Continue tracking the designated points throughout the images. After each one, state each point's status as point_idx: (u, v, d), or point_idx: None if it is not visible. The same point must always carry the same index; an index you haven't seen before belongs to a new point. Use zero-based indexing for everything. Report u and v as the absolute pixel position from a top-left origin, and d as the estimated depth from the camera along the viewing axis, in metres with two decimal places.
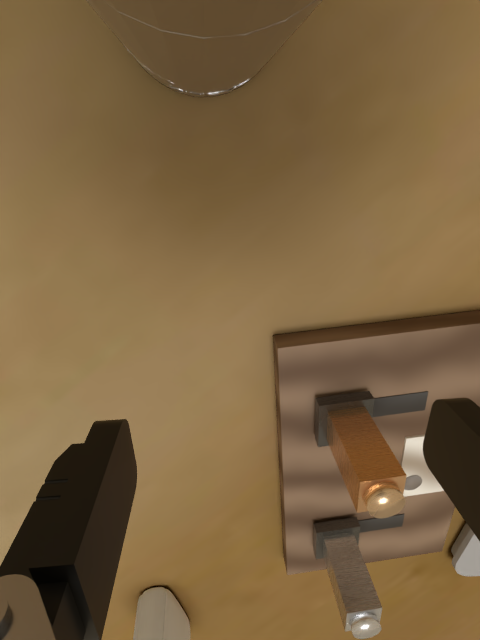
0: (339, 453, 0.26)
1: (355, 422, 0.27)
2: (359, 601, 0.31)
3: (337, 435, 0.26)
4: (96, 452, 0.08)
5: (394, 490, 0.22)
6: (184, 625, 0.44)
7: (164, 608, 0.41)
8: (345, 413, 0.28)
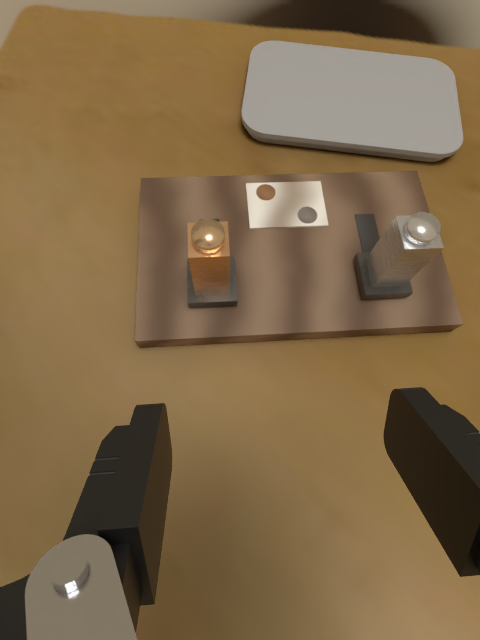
0: (210, 279, 0.29)
1: None
2: (396, 239, 0.28)
3: (196, 283, 0.30)
4: (142, 432, 0.08)
5: (192, 229, 0.26)
6: None
7: None
8: None
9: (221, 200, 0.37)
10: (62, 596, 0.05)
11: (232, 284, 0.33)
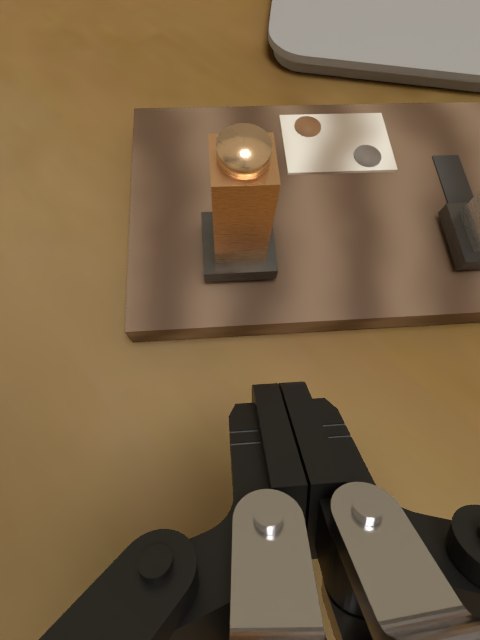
0: (240, 234, 0.19)
1: None
2: None
3: (218, 241, 0.19)
4: (271, 407, 0.09)
5: None
6: None
7: None
8: None
9: None
10: (272, 538, 0.06)
11: (269, 247, 0.22)
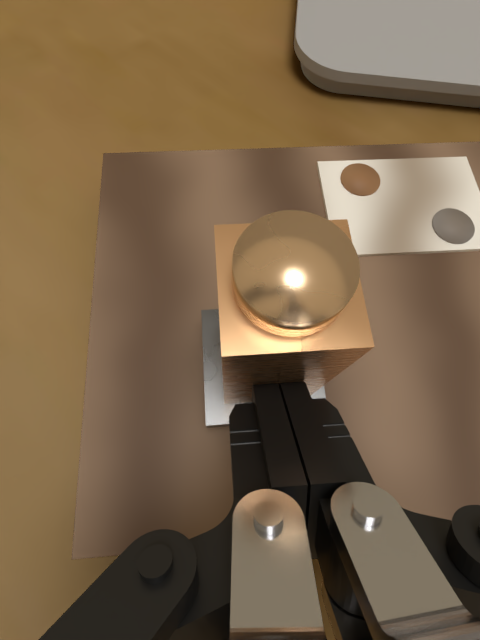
0: None
1: None
2: None
3: (231, 392, 0.11)
4: (271, 407, 0.09)
5: None
6: None
7: None
8: None
9: (269, 196, 0.18)
10: (272, 538, 0.06)
11: None
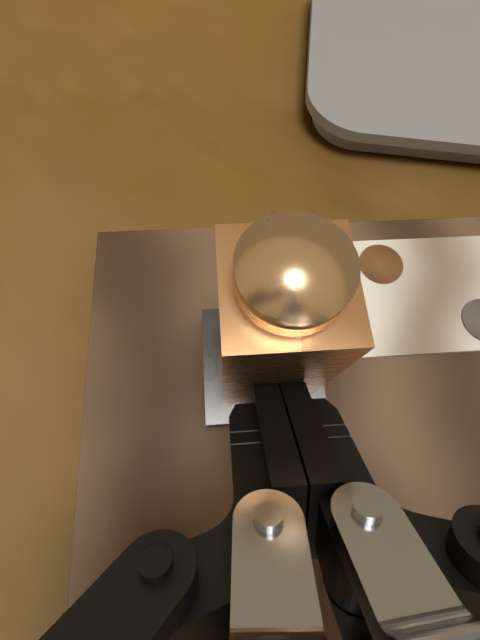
0: None
1: None
2: None
3: (231, 392, 0.11)
4: (271, 407, 0.09)
5: None
6: None
7: None
8: None
9: None
10: (272, 538, 0.06)
11: None
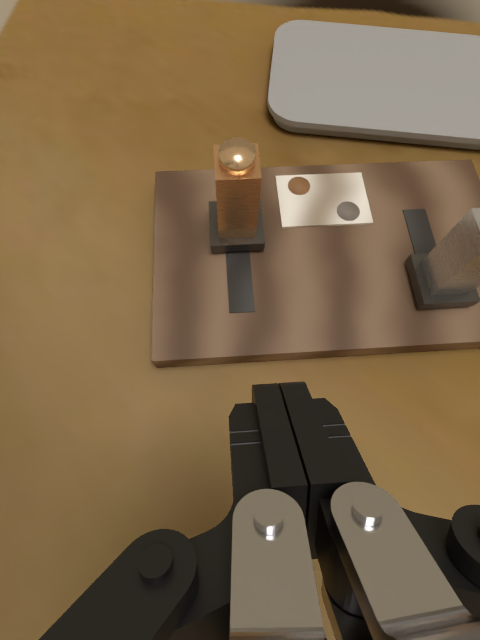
0: (236, 214, 0.27)
1: None
2: (473, 237, 0.23)
3: (220, 220, 0.27)
4: (271, 407, 0.09)
5: None
6: None
7: None
8: None
9: None
10: (272, 538, 0.06)
11: (259, 226, 0.30)
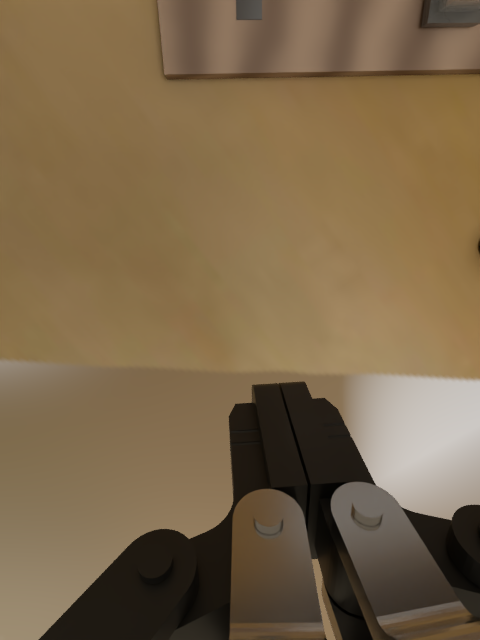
0: None
1: None
2: None
3: None
4: (271, 407, 0.09)
5: None
6: None
7: None
8: None
9: None
10: (272, 538, 0.06)
11: None
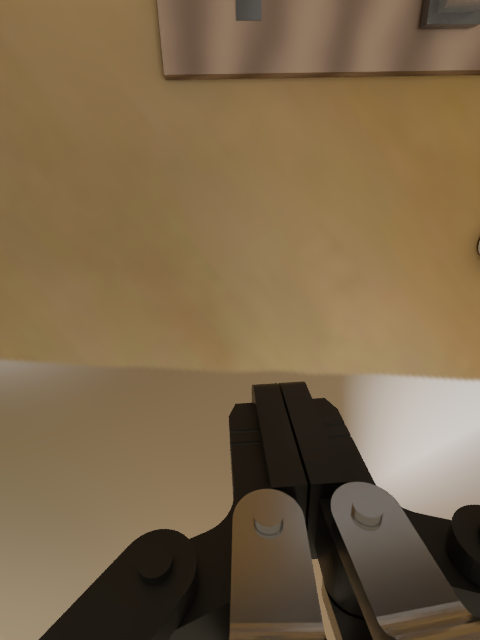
0: None
1: None
2: None
3: None
4: (271, 407, 0.09)
5: None
6: None
7: None
8: None
9: None
10: (272, 538, 0.06)
11: None
